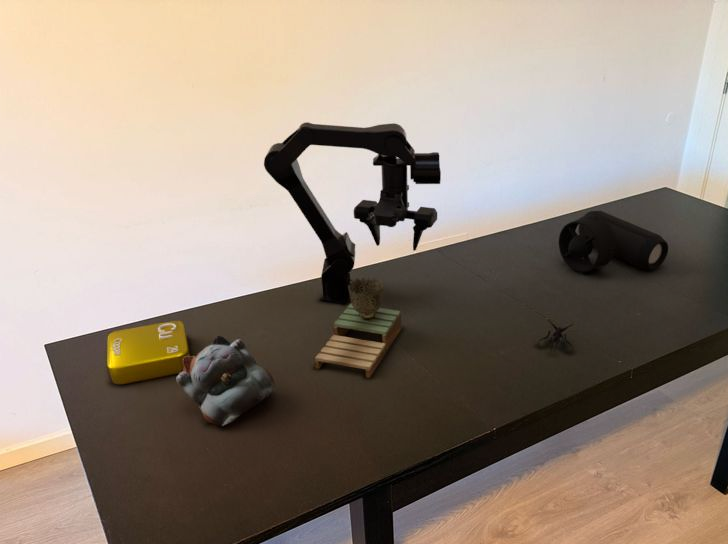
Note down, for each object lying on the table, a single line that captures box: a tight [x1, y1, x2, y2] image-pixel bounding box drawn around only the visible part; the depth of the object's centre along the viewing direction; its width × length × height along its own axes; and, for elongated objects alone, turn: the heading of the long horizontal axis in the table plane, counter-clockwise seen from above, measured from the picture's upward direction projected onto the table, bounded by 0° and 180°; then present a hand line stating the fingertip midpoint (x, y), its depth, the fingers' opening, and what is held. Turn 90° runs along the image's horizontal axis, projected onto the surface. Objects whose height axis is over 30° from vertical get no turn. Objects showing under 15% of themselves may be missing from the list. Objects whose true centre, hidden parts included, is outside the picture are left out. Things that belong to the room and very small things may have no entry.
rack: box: [314, 303, 402, 379], centre depth 141 cm, size 12×20×5 cm, turn 165°
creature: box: [536, 318, 574, 354], centre depth 143 cm, size 8×5×8 cm
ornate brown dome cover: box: [348, 276, 384, 320], centre depth 141 cm, size 8×7×8 cm
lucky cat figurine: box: [175, 335, 275, 427], centre depth 122 cm, size 15×12×14 cm
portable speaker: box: [578, 210, 669, 271], centre depth 182 cm, size 26×10×10 cm, turn 36°
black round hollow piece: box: [558, 214, 616, 274], centre depth 173 cm, size 14×14×10 cm
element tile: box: [106, 320, 191, 385], centre depth 135 cm, size 15×15×5 cm
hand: (396, 247), depth 155 cm, fingers open, 9 cm apart
